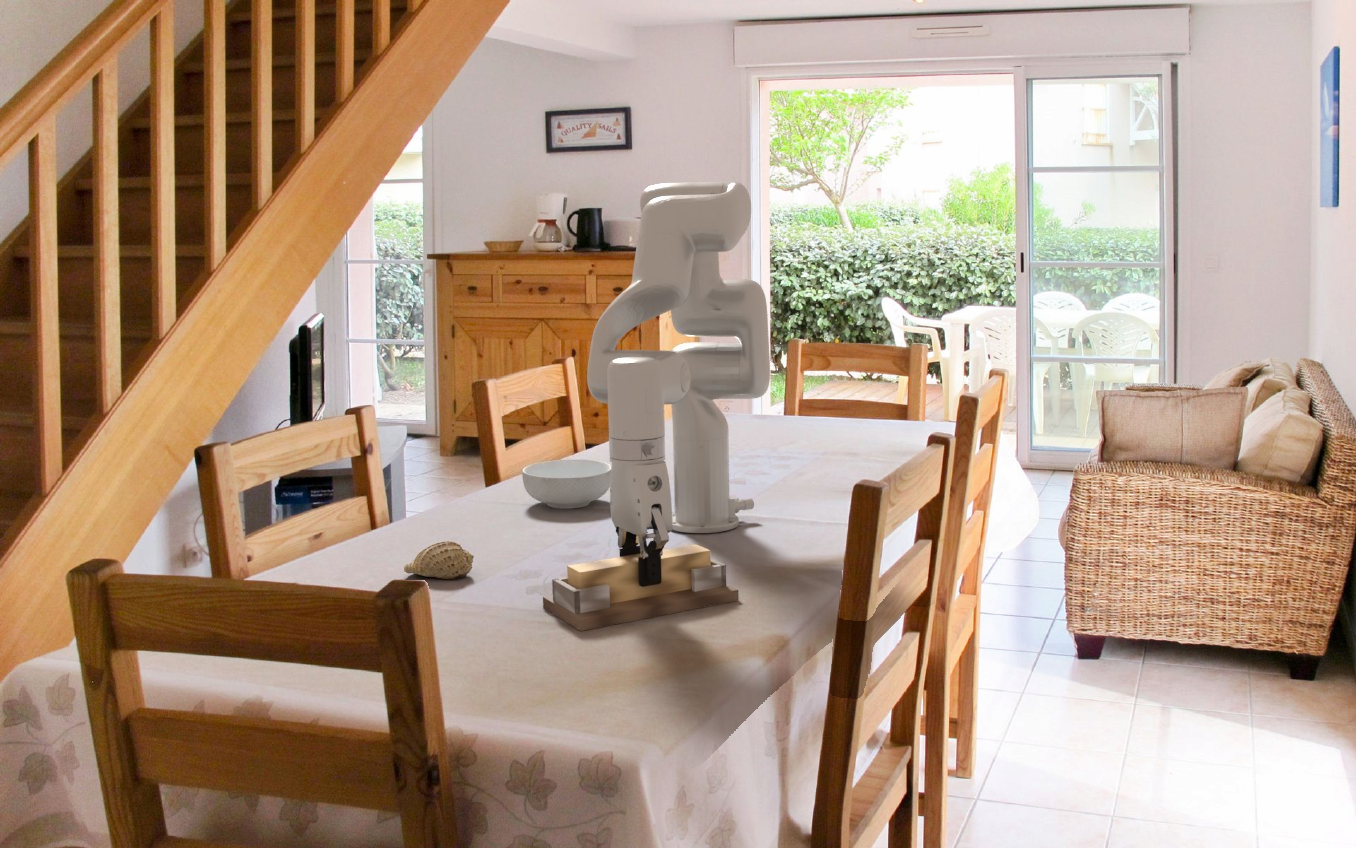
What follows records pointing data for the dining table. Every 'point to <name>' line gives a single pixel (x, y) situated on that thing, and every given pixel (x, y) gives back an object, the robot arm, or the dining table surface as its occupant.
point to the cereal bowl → (567, 482)
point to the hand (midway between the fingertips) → (640, 578)
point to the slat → (626, 573)
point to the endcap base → (636, 600)
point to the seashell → (442, 561)
